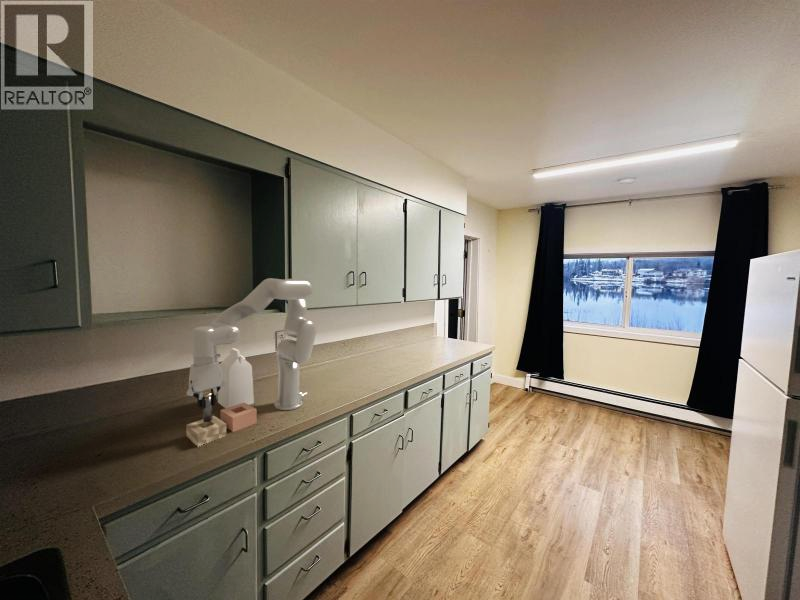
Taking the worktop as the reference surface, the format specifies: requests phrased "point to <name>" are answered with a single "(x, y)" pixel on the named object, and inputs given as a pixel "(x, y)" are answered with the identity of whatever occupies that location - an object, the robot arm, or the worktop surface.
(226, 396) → the milk
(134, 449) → the worktop surface
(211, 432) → the mount
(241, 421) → the dock
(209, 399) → the pin
